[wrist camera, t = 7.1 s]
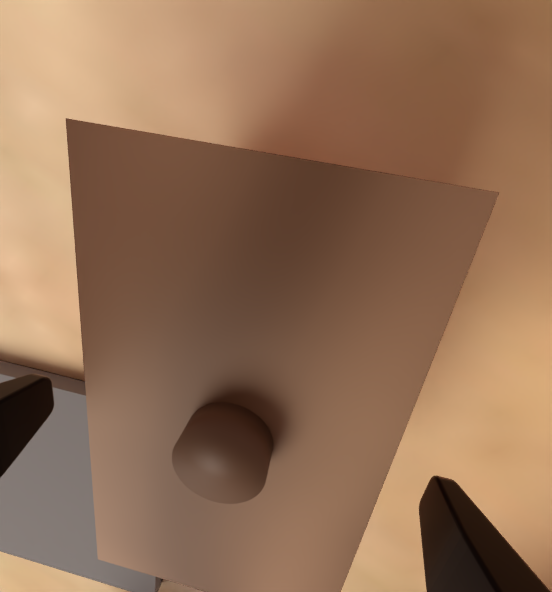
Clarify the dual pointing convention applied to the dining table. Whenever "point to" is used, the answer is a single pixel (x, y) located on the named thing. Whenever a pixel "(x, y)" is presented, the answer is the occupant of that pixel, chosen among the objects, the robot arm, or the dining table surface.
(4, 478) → the mat
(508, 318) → the dining table surface
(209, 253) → the lid
